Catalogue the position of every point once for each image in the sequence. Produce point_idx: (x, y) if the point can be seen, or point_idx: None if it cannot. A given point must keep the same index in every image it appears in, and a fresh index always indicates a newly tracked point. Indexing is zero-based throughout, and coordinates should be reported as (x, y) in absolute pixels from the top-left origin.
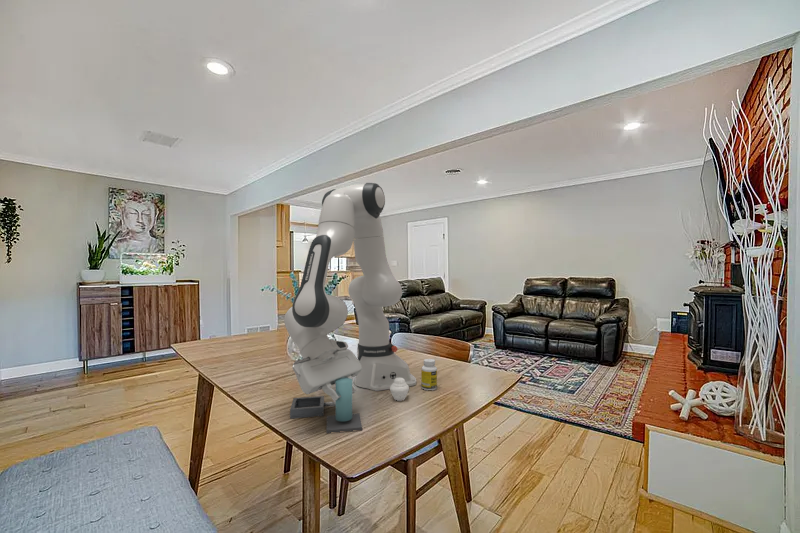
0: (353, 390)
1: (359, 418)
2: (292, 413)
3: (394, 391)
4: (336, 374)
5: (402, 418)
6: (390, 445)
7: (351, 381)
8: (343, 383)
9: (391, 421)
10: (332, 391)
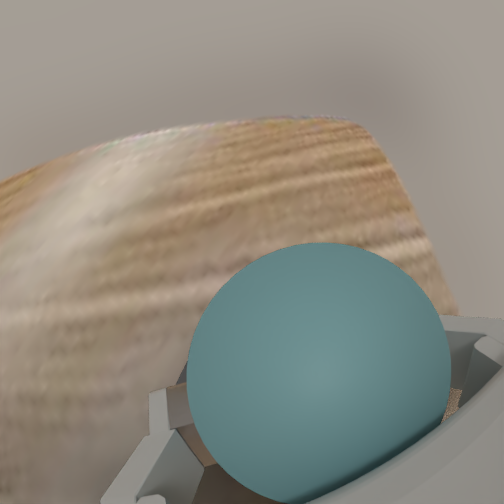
0: (183, 384)
1: (186, 373)
2: None
3: None
4: (464, 478)
5: (45, 280)
6: (211, 154)
7: (244, 268)
8: (378, 262)
9: (85, 284)
10: (447, 316)
